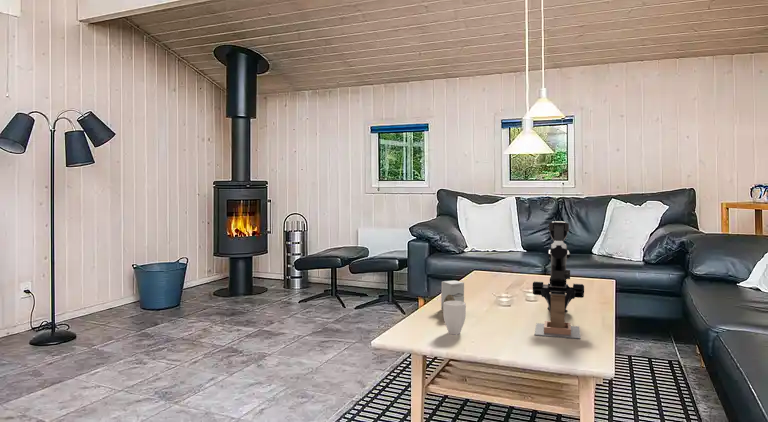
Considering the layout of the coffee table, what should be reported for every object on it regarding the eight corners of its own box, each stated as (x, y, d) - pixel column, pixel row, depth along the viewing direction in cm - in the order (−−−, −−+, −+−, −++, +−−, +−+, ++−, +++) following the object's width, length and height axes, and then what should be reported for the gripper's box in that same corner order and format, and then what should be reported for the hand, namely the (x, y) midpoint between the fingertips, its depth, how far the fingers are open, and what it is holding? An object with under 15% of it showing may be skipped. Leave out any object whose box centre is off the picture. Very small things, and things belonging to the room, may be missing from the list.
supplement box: (450, 313, 232) (450, 284, 231) (440, 309, 239) (440, 281, 238) (464, 311, 235) (464, 282, 235) (454, 307, 242) (454, 279, 241)
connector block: (550, 325, 207) (551, 294, 206) (564, 326, 206) (564, 295, 205) (550, 328, 202) (550, 297, 202) (564, 329, 201) (564, 297, 200)
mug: (463, 337, 197) (463, 306, 197) (440, 335, 200) (440, 304, 199) (469, 328, 208) (469, 299, 208) (448, 326, 211) (448, 297, 211)
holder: (536, 324, 214) (536, 318, 214) (579, 327, 209) (579, 321, 209) (534, 335, 199) (534, 328, 199) (580, 339, 194) (580, 332, 194)
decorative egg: (456, 316, 226) (456, 293, 226) (457, 320, 220) (457, 296, 220) (441, 316, 227) (441, 292, 226) (442, 320, 221) (442, 296, 220)
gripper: (533, 260, 209) (531, 295, 199) (584, 263, 203) (585, 298, 194) (533, 277, 217) (532, 310, 207) (583, 279, 211) (583, 314, 202)
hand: (557, 308), depth 202 cm, fingers closed on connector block, 5 cm apart
